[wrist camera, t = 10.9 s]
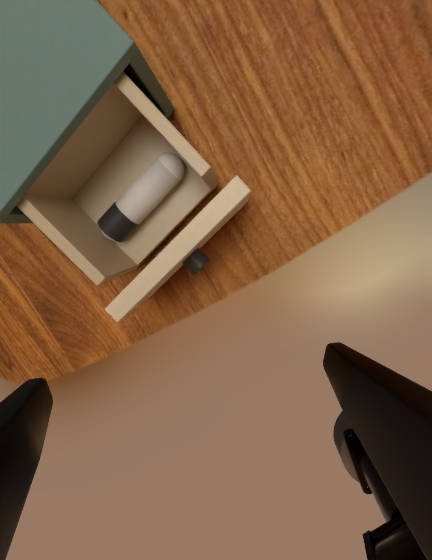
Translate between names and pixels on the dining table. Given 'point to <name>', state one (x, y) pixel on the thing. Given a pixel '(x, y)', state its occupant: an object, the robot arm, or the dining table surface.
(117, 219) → the marker
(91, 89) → the cabinet
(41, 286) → the dining table surface
